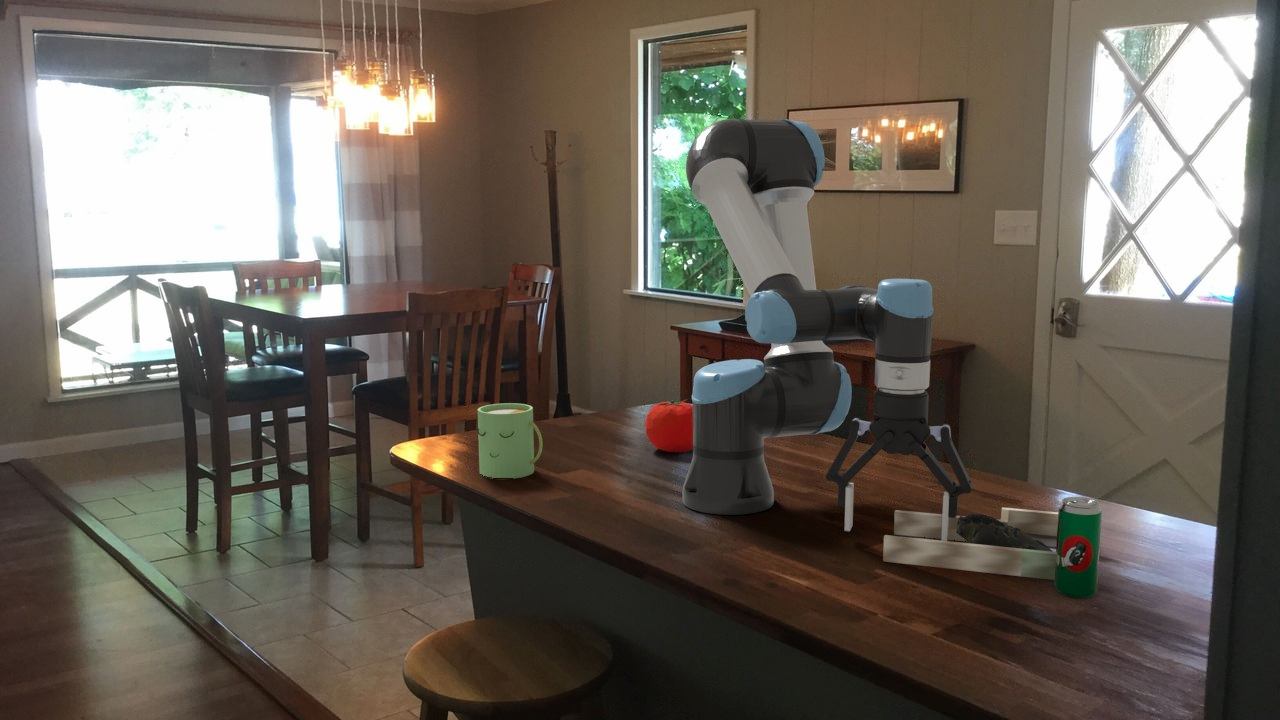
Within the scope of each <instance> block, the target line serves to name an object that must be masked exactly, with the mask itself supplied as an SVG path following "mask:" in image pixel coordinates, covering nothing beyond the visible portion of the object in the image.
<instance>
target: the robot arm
mask: <svg viewBox="0 0 1280 720" xmlns="http://www.w3.org/2000/svg"><path fill="white" fill-rule="evenodd" d="M685 161H686V162H685V163H686V164H685V173H686V175H685V176H686V179H687V183H688V187H689V188H690V190H691V193H692V195H693V196H694V198H695V200H696V201H697V202H698V203H700V204H702V205H704V206H705V207H706V209H707V211H708V214H709V215H710V217H711V219H712V221H713V224H714V225H715V227H716V229H717V231H718V233H719V235H720V238H721V240H722V242H723V244H724V245H725V247H726V250H727V251H728V253H729V256H730V258H731V259H732V262H733V264H734V266H735V267H736V270H737V271H738V274H739V276H740V279H741V280H742V282H743V284H744V286H745V287H746V290H747V292H748V295H749V296H750V297H749V298H748V299H747V302H746V306H745V311H744V317H745V318H744V320H745V322H746V330H747V333H748V334H749V336H750V338H751V339H753V340H754V341H755V342H757V343H760V344H771V348H770V350H769V351H768V353H767V354H766V355H765V356H764V357H763V361H761V360H758V359H754V358H752V359H751V358H744V359H729V360H723V361H717V362H713V363H711V364H708V365H705V366H703V367H701V368H700V369H698V371H696V373H695V375H694V377H693V386H692V394H691V400H692V405H693V449H692V458H691V462H690V463H689V464H690V465H689V468H688V471H687V475H686V477H685V479H684V480H685V481H684V483H683V487H682V492H681V493H682V504H683V505H684V506H685V507H687V508H689V509H690V510H693V511H696V512H700V513H705V514H711V515H725V516H728V515H729V516H734V515H735V516H737V515H741V516H742V515H749V514H756V513H760V512H763V511H765V510H769V509H770V508H772V506H773V505H774V503H775V502H774V500H775V497H774V496H775V492H774V487H773V483H772V480H771V477H770V475H769V472H768V471H769V470H768V467H767V464H766V462H765V457H764V455H765V454H764V448H765V447H764V446H765V445H764V444H765V443H764V440H765V439H766V438H767V439H768V438H780V437H791V436H799V435H800V436H803V435H804V436H805V435H817V434H820V433H826V432H832V431H834V430H836V429H838V428H839V427H840V426H841V425H842V423H844V421H845V419H846V416H847V415H848V413H849V410H850V408H851V403H852V391H853V390H852V389H853V388H852V387H853V386H852V382H851V381H852V380H851V377H850V374H849V373H848V372H847V368H846V367H845V366H844V365H843V364H841V363H839V362H836V361H835V359H834V352H833V350H832V349H831V348H830V347H829V346H827V345H826V344H825V343H824V341H826V342H827V341H842V340H843V341H844V340H861V339H862V340H866V341H867V340H868V341H872V342H875V355H874V356H875V357H874V359H875V360H874V361H875V362H874V363H875V364H874V382H873V383H874V386H876V387H877V388H876V389H875V390H874V391H873V409H872V410H873V413H872V414H873V415H872V420H871V421H866V420H861V418H859V417H854V418H853V419H852V420H851V422H850V425H849V432H848V436H847V438H846V440H845V442H844V443H843V444H842V446H841V448H840V450H839V452H838V453H837V455H836V457H835V459H834V460H833V462H832V464H831V466H830V467H829V468H828V469H829V470H828V471H827V473H826V474H825V479H826V480H827V481H828V482H833V483H836V485H837V486H838V489H837V492H838V493H837V505H838V506H839V507H841V508H844V532H850V531H851V530H852V527H853V521H854V519H853V518H854V491H855V487H854V486H855V484H854V482H850V481H852V479H853V478H854V477H855V476H856V475H857V474H858V473H859V472H860V471H861V470H863V468H864V467H866V465H868V463H869V462H870V461H871V460H872V459H873V458H874V457H875V456H876V455H877V454H878V453H879V452H880V451H881V450H882V451H883V452H885V453H886V454H887V455H895V454H900V455H903V456H910V455H913V454H915V455H916V456H917V458H919V460H921V461H922V462H923V463H924V465H925V466H926V467H927V468H928V469H929V472H931V474H932V475H933V476H934V478H935V479H936V480H937V481H938V483H940V485H941V486H942V487H943V488H944V490H946V491H944V493H943V497H942V514H943V515H942V536H941V539H940V541H948V540H947V539H948V527H949V517H950V518H956V516H958V510H959V507H958V506H959V496H961V495H963V494H970V493H971V492H972V490H973V483H972V480H971V478H970V476H969V475H968V471H967V470H966V468H965V466H964V463H963V461H962V459H961V457H960V455H959V453H958V450H957V448H956V446H955V444H954V442H953V440H952V431H951V426H950V424H948V423H944V424H942V425H935V426H934V425H933V426H931V425H930V423H929V420H928V419H929V418H928V417H929V400H930V399H929V397H930V396H929V395H930V394H929V392H928V391H927V389H928V388H929V387H930V378H931V376H930V373H931V348H932V334H933V333H932V331H933V314H934V311H935V309H934V306H933V287H932V284H931V283H930V282H929V281H928V280H924V279H914V278H913V279H912V278H887V279H882V280H881V281H879V283H878V285H877V288H872V287H867V286H865V285H845V286H842V287H840V288H833V289H832V288H829V289H821V288H820V289H817V284H816V274H815V273H816V272H815V266H814V258H813V248H812V240H811V238H812V237H811V232H810V224H809V223H810V222H809V214H808V213H809V212H808V202H809V201H810V200H811V199H812V197H814V195H815V189H814V188H815V187H817V186H818V185H819V184H820V182H821V180H822V178H823V175H824V171H823V168H825V163H826V162H825V161H826V160H825V151H824V147H823V143H822V141H821V139H820V136H819V134H818V133H817V131H816V130H815V128H813V127H812V126H810V125H809V124H808V123H807V122H805V121H799V120H790V119H787V118H783V119H782V118H781V119H738V118H725V119H721V120H717V121H715V122H713V123H711V124H709V125H708V126H706V127H705V128H704V129H703V130H701V132H700V133H699V134H697V136H696V137H695V139H694V140H693V141H692V143H691V145H690V147H689V150H688V152H687V156H686V160H685ZM866 431H869V432H870V433H871V436H872V437H873V438H874V442H873V443H872V444H871V445H870V446H869V447H868V448H867V449H866V450H865V451H864V452H863V453H862V454H861V455H860V457H858V458H857V459H856V460H855V461H854V462H853V463H852V464H851V465H850V466H849V467H848V468H847V470H845V472H843V473H841V472H839V471H840V470H841V467H842V466H843V464H844V462H845V461H846V459H847V457H848V456H849V454H850V452H851V450H852V448H853V447H854V444H855V443H856V441H857V440H858V438H859V437H860V436H861V437H862V436H863V435H864V434H865V432H866ZM931 435H932V436H934V438H935V440H936V441H937V442H939V443H940V442H941V447H942V449H943V452H944V454H945V456H946V457H947V460H948V462H949V464H950V466H951V468H952V471H953V473H954V475H955V477H956V479H957V481H958V483H957V482H956V481H955V480H954V479H953V478H952V477H951V475H950V473H949V472H948V471H947V470H946V469H945V468H944V466H943V465H942V464H941V463H940V461H939V460H938V459H937V457H936V456H935V455H934V454H933V453H932V452H931V450H930V448H929V447H928V445H927V444H926V443H925V442H926V440H928V438H929V437H930V436H931Z"/></svg>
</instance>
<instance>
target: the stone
mask: <svg viewBox="0 0 1280 720" xmlns="http://www.w3.org/2000/svg"><path fill="white" fill-rule="evenodd" d="M959 516H960V517H959V518H958V522H957V530H956V533H957V534H959V535H960V536H961V537H963V538H964V539H965V540H966V541H967V542H966V543H970V544H980V545H990V546H1000V547H1010V548H1020V549H1030V550H1040V551H1050V552H1053V550H1052V549H1051V548H1048V547H1047V546H1046V545H1045V544H1044V543H1042V542H1041V541H1039V540H1034V539H1032V538H1031V537H1029V536H1027V535H1025V534H1023V532H1021V530H1020V529H1018V528H1013V527H1012V526H1006V525H1004V523H1002V522H1000V521H999V520H1000V519H998V520H997V518H994V517H992V516H989V515H986V514H981V513H971V514H968V515H966V517H962V516H963V515H959Z"/></svg>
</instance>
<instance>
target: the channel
mask: <svg viewBox="0 0 1280 720" xmlns="http://www.w3.org/2000/svg"><path fill="white" fill-rule="evenodd" d="M1000 514H1001V515H1000V519H997V518H996V519H997V520H999V521H1000V522H1002V523H1004V525H1006V526H1012V527H1013V528H1018V529H1020V530H1021V532H1023V534H1025V535H1027V536H1029V537H1031V538H1032V539H1034V540H1039V541H1041V542H1042V543H1044V544H1045V545H1046V546H1047V547H1048V548H1049V549H1056V542H1057V524H1058V511H1056V512H1055V511H1045V510H1035V509H1024V508H1013V507H1001V513H1000ZM942 515H943V513H933V512H922V511H921V512H920V511H910V510H900V509H895V510H894V518H893V519H894V520H893V521H894V522H893V523H894V524H893V535H888V534H885V535H884V536H883V548H882V549H883V550H882V551H883V556H882V561H883V562H885V563H886V562H887V563H896V564H903V565H914V566H921V567H930V568H931V567H933V568H940V569H951V570H959V571H970V572H979V573H988V574H995V575H996V574H997V575H1007V576H1013V577H1014V576H1016V577H1025V578H1033V579H1041V580H1042V579H1043V580H1051V581H1054V579H1055V561H1056V551H1052V552H1050V551H1040V550H1030V549H1020V548H1010V547H1000V546H990V545H980V544H970V543H968V542H967V541H966V540H965V539H964V538H963V537H961V536H960V535H959V534H957V533H956V530H957V522H958V518H959V517H960V516H962V517H966V516H967V515H966V516H964V515H957V516H956V518H950V517H949V527H948V539H947V541H941V536H942ZM924 537H925V538H924ZM934 538H935V539H934ZM954 540H955V541H954ZM965 541H966V542H965Z"/></svg>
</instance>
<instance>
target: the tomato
mask: <svg viewBox="0 0 1280 720" xmlns="http://www.w3.org/2000/svg"><path fill="white" fill-rule="evenodd" d="M687 400H688V398H687V399H683V400H681V401H676V402H675V400H673V399H672V400H670V401H662V402H659V403H658V404H654V405H653V406H652V407H651V409H650V411H648V413H647V415H646V419H645V422H644V426H645V435H646V436H647V439H648V441H649V442H650V444H651V445H652V446H653V447H655V448H657V449H658V450H661V451H664V452H667V453H685V452H688V451H691V450H693V404H690V403H687V402H685V401H687Z"/></svg>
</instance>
